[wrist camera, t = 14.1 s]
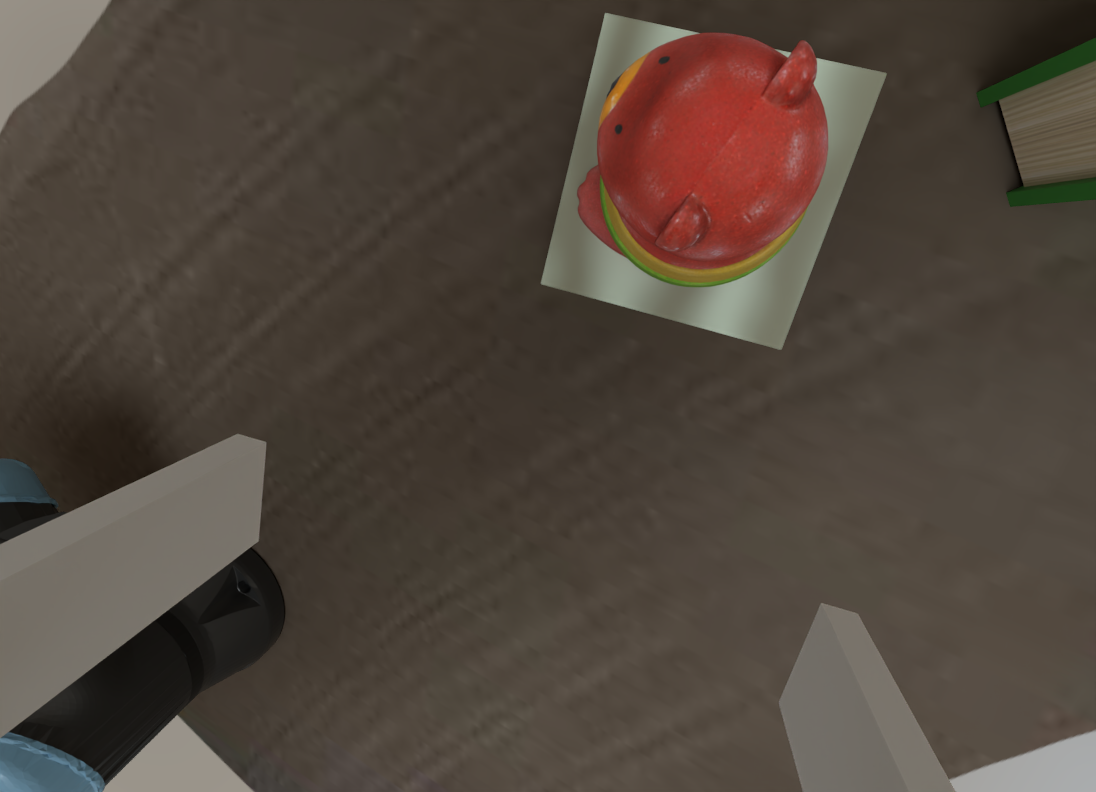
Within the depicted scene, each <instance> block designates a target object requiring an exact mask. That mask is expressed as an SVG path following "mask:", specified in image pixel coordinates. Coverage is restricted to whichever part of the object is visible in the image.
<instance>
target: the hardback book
mask: <svg viewBox="0 0 1096 792" xmlns="http://www.w3.org/2000/svg"><path fill="white" fill-rule="evenodd" d="M977 97H978V100H979V104H980V107H983V106H986V105H988V104H991V103H993V102H996V101H998V100H999V103H1000V106H1001V110H1002V113H1003V116H1004V120H1005V123H1006V127H1007V130H1008V133H1009V137H1010V140H1011V144H1012V147H1013V151H1014V154H1015V157H1016V161H1017V164H1018V168H1019V171H1020V175H1021V178H1022V181H1023V185H1024V186H1022V187H1019V188H1017V189H1014V190H1012V191H1009V192H1007V193H1006V194H1007V197H1008V201H1009V204H1010V207H1012V206H1024V205H1036V204H1047V203H1059V202H1071V201H1082V200H1094V199H1096V38H1094V39H1092V40H1090V41H1087V42H1085V43H1083V44H1081V45H1079V46H1077V47H1074V48H1072V49H1070V50H1068V51H1066V52H1064V53H1061V54H1059V55H1057V56H1055V57H1053V58H1051V59H1048V60H1046V61H1044V62H1042V63H1040V64H1038V65H1036V66H1033V67H1031V68H1029V69H1027V70H1025V71H1023V72H1020V73H1018V74H1016V75H1014V76H1012V77H1010V78H1007V79H1005V80H1003V81H1001V82H999V83H997V84H995V85H992V86H990V87H988V88H986V89H984V90H982V91H979V92H977Z"/></svg>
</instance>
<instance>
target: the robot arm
mask: <svg viewBox="0 0 1096 792" xmlns="http://www.w3.org/2000/svg"><path fill="white" fill-rule="evenodd" d="M265 455H266V442H264V441H261V440H257V439H254V438H250V437H247V436H243V435H240V434H236V435H234V436H232V437H230V438H228V439H225V440H223V441H221V442H219V443H217V444H215V445H213V446H210V447H208V448H206V449H204V450H202V451H200V452H197V453H195V454H193V455H191V456H189V457H187V458H185V459H182V460H180V461H178V462H176V463H174V464H172V465H170V466H167V467H165V468H163V469H161V470H159V471H157V472H154V473H152V474H150V475H148V476H146V477H144V478H142V479H139V480H137V481H135V482H133V483H131V484H129V485H127V486H124V487H122V488H120V489H118V490H116V491H114V492H112V493H109V494H107V495H105V496H103V497H101V498H99V499H96V500H94V501H92V502H90V503H88V504H86V505H84V506H81V507H79V508H77V509H75V510H73V511H71V512H69V513H67V512H60V513H58V511H57V509H56V508H57V507H58V504H57V502H56V500H55V499H53V498H50V497H49V495H48V493H47V492H46V490H45V489H44V487H43V485H42V484H41V482H40V480H39V479H38V477H37V476H36V474H35V472H34V471H33V470H32V469H31V468H30V467H29V466H28V465H26V464H25V463H23V462H20V461H17V460H14V459H0V792H102V791H103V790H104V788H105V786H106V785H107V784H108V783H109V782H110V781H111V780H112V779H113V778H114V777H115V776H116V775H117V774H118V773H119V772H120V771H121V770H122V769H123V768H124V767H125V766H126V765H127V764H128V763H129V762H130V761H131V760H132V759H133V758H134V757H135V756H136V755H137V754H138V753H139V752H140V751H141V750H142V749H143V748H144V747H145V746H146V745H147V744H148V743H149V742H150V741H151V740H152V739H153V738H154V737H155V736H156V735H157V734H158V733H159V732H160V731H161V730H162V729H163V728H164V727H165V726H166V725H167V724H168V723H169V722H170V721H171V720H172V719H173V718H174V717H175V716H176V715H177V714H178V713H179V712H180V711H181V710H182V709H183V708H184V707H185V706H186V705H187V704H188V703H190V702H191V701H192V700H193V699H194V698H195V697H196V696H197V695H198V694H199V693H200V692H202V691H204V690H206V689H208V688H209V687H211V686H213V685H215V684H217V683H218V682H220V681H222V680H224V679H226V678H227V677H229V676H231V675H233V674H234V673H236V672H238V671H241V670H243V669H245V668H247V667H249V666H251V665H252V664H254V663H255V662H256V661H257V660H259V659H260V658H261V657H262V656H263V655H264V654H265V653H266V651H267V650H268V649H269V648H270V647H271V646H272V645H273V644H274V643H275V642H276V640H277V639H278V637H279V635H280V633H281V630H282V627H283V622H284V604H283V599H282V595H281V591H280V589H279V586H278V584H277V582H276V580H275V578H274V576H273V574H272V573H271V571H270V570H269V568H268V567H267V566H266V564H265V563H264V562H263V561H262V560H261V558H260V557H259V556H258V555H257V554H256V553H255V552H253V551H252V550H251V549H250V547H252V546H253V545H254V544H256V543H257V542H258V541H259V530H260V518H261V505H262V493H263V480H264V468H265ZM779 706H780V709H781V713H782V717H783V720H784V724H785V728H786V731H787V735H788V739H789V742H790V746H791V750H792V753H793V757H794V761H795V764H796V768H797V772H798V775H799V779H800V783H801V786H802V790H803V792H955V790H954V788H953V786H952V785H951V783H950V781H949V779H948V777H947V776H946V774H945V772H944V770H943V768H942V766H941V765H940V763H939V761H938V759H937V757H936V756H935V754H934V752H933V750H932V748H931V746H930V745H929V743H928V741H927V739H926V737H925V735H924V734H923V732H922V730H921V728H920V726H919V725H918V723H917V721H916V719H915V717H914V715H913V714H912V712H911V710H910V708H909V706H908V705H907V703H906V701H905V699H904V697H903V695H902V694H901V692H900V690H899V688H898V686H897V685H896V683H895V681H894V679H893V677H892V675H891V674H890V672H889V670H888V668H887V666H886V664H885V663H884V661H883V659H882V657H881V655H880V654H879V652H878V650H877V648H876V646H875V644H874V643H873V641H872V639H871V637H870V635H869V634H868V632H867V630H866V628H865V626H864V624H863V623H862V621H861V619H860V617H859V615H858V614H857V613H854V612H851V611H847V610H844V609H840V608H837V607H833V606H830V605H827V604H823V603H821V605H820V607H819V609H818V612H817V614H816V616H815V619H814V621H813V623H812V626H811V628H810V630H809V633H808V635H807V637H806V640H805V642H804V644H803V647H802V649H801V651H800V654H799V656H798V658H797V661H796V663H795V665H794V668H793V670H792V672H791V675H790V677H789V680H788V682H787V684H786V687H785V689H784V691H783V694H782V696H781V698H780V701H779Z"/></svg>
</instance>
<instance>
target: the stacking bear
mask: <svg viewBox="0 0 1096 792" xmlns="http://www.w3.org/2000/svg"><path fill="white" fill-rule="evenodd" d="M816 74H817V59H816V57H815V54H814V52H813V49H812V47H811V46H810V45H809V44H808V43H807V42H806V41H803V40H801V41H800V42H798V44H797V46H796V47H795V49H794V50H793V51H792V53H791V54H790V55H789V57H786V56H785V55H783V54H781V53H780V52H778V51H777V50H775V49H773V48H772V47H770V46H768V45H766V44H764V43H762V42H760V41H758V40H755V39H752V38H750V37H745V36H740V35H735V34H728V33H700V34H694V35H689V36H685V37H682V38H679V39H676V40H673V41H670V42H667V43H665V44H663V45H661V46H658V47H657V48H655V49H653V50H651V51H650V52H648V53H647V54H645V55H644V56H642V57H641V58H639V59H638V60H636V61H635V62H634V63H633V64H632V65H630V66H629V67H628V68H627V69H626V70H625V71H624V72H623V73H622V74H621V75H620V76H619V77H618V78H617V79H616V80H615V81H614V82H613V83H612V85H611V88H610V91H609V92H608V94H607V98H606V101H605V103H604V105H603V108H602V111H601V115H600V119H599V128H598V137H597V158H598V165H597V166H595V167H593V168H592V169H590V170H589V172H588V173H587V175H586V180H585V181H584V182H583V183H582V184H581V185H580V186H579V187H578V190H577V197H578V199H579V206H578V214H579V216H580V218H581V220H582V221H583V223H584V224H585V225H586V227H587V228H588V229H589V230H590V231H591V232H592V233H593V234H594V235H595V236H596V237H597V238H598V239H600V240H601V241H602V242H603V243H604V244H606V245H607V246H608V247H609V248H611V249H612V250H614V251H615V252H617V253H619V254H620V255H622V256H624V257H626V258H628V259H629V260H630V261H631V262H632V263H633V264H634V265H635V266H636V267H638V268H639V269H640V270H642V271H643V272H645V273H646V274H648V275H650V276H652V277H653V278H656V279H658V280H660V281H662V282H666V283H669V284H672V285H677V286H683V287H712V286H717V285H722V284H725V283H729V282H732V281H735V280H738V279H740V278H742V277H745V276H747V275H748V274H750V273H752V272H754V271H755V270H757V269H759V268H760V267H762V266H763V265H764V264H766V263H767V262H768V261H770V260H771V259H772V258H773V257H774V256H775V255H776V254H777V253H778V252H780V250H781V249H782V248H783V247H784V246H785V245H786V244H787V243H788V241H789V240H790V239H791V237H792V236H793V235H794V233H795V232H796V230H797V228H798V227H799V225H800V223H801V221H802V219H803V217H804V215H805V213H806V211H807V208H808V206H809V204H810V202H811V200H812V199H813V197H814V195H815V193H816V191H817V189H818V187H819V185H820V182H821V179H822V176H823V173H824V170H825V166H826V162H827V154H828V126H827V119H826V114H825V110H824V106H823V104H822V101H821V98H820V96H819V94H818V92H817V90H816V88H815V86H814V84H813V83H814V81H815V79H816Z"/></svg>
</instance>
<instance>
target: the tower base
mask: <svg viewBox="0 0 1096 792" xmlns="http://www.w3.org/2000/svg"><path fill="white" fill-rule="evenodd" d="M694 34H700V33H697V32H692V31H687V30H683V29H678V28H673V27H669V26H664V25H659V24H655V23H650V22H645V21H641V20H636V19H631V18H627V17H622V16H617V15H613V14H608V13H605V16H604V20H603V25H602V29H601V33H600V37H599V41H598V46H597V50H596V54H595V58H594V62H593V67H592V71H591V75H590V79H589V83H588V88H587V92H586V96H585V100H584V104H583V109H582V113H581V117H580V121H579V125H578V130H577V134H576V138H575V142H574V146H573V151H572V155H571V159H570V163H569V167H568V172H567V176H566V180H565V184H564V188H563V193H562V197H561V201H560V205H559V209H558V214H557V218H556V222H555V226H554V230H553V235H552V239H551V243H550V247H549V251H548V256H547V260H546V264H545V268H544V272H543V277H542V281H541V284H543V285H546V286H550V287H554V288H557V289H561V290H565V291H568V292H572V293H576V294H579V295H583V296H586V297H590V298H594V299H597V300H601V301H605V302H608V303H612V304H616V305H619V306H623V307H626V308H630V309H634V310H637V311H641V312H645V313H648V314H652V315H656V316H659V317H663V318H666V319H670V320H674V321H677V322H681V323H685V324H688V325H692V326H696V327H699V328H703V329H706V330H710V331H714V332H717V333H721V334H725V335H728V336H732V337H736V338H739V339H743V340H746V341H750V342H754V343H757V344H761V345H765V346H768V347H772V348H776V349H779V350H781V349H782V347H783V344H784V342H785V339H786V336H787V334H788V331H789V328H790V326H791V323H792V321H793V318H794V315H795V313H796V310H797V308H798V305H799V302H800V300H801V297H802V294H803V292H804V289H805V287H806V284H807V281H808V279H809V276H810V273H811V271H812V268H813V266H814V263H815V260H816V258H817V255H818V253H819V250H820V247H821V245H822V242H823V239H824V237H825V234H826V232H827V229H828V226H829V224H830V221H831V219H832V216H833V213H834V211H835V208H836V205H837V203H838V200H839V198H840V195H841V192H842V190H843V187H844V185H845V182H846V179H847V177H848V174H849V171H850V169H851V166H852V164H853V161H854V158H855V156H856V153H857V151H858V148H859V145H860V143H861V140H862V137H863V135H864V132H865V130H866V127H867V124H868V122H869V119H870V117H871V114H872V111H873V109H874V106H875V103H876V101H877V98H878V96H879V93H880V90H881V88H882V85H883V83H884V80H885V77H886V75H887V73H883V72H879V71H874V70H869V69H865V68H860V67H855V66H851V65H846V64H841V63H837V62H832V61H827V60H823V59H818V58H816V59H817V74H816V79H815V81H814V83H813V84H814V86H815V88H816V90H817V92H818V94H819V96H820V98H821V101H822V104H823V106H824V110H825V114H826V119H827V126H828V154H827V162H826V166H825V170H824V173H823V176H822V179H821V182H820V185H819V187H818V189H817V191H816V193H815V195H814V197H813V199H812V200H811V202H810V204H809V206H808V208H807V211H806V213H805V215H804V217H803V219H802V221H801V223H800V225H799V227H798V228H797V230H796V232H795V233H794V235H793V236H792V237H791V239H790V240H789V241H788V243H787V244H786V245H785V246H784V247H783V248H782V249H781V250H780V252H778V253H777V254H776V255H775V256H774V257H773V258H772V259H771V260H770V261H768V262H767V263H766V264H764V265H763V266H762V267H760V268H759V269H757V270H755V271H754V272H752V273H750V274H748V275H747V276H745V277H742V278H740V279H738V280H735V281H732V282H729V283H725V284H722V285H717V286H712V287H683V286H677V285H672V284H669V283H666V282H662V281H660V280H658V279H656V278H653V277H652V276H650V275H648V274H646V273H645V272H643V271H642V270H640V269H639V268H638V267H636V266H635V265H634V264H633V263H632V262H631V261H630V260H629V259H628V258H626V257H624V256H622V255H620V254H619V253H617V252H615V251H614V250H612V249H611V248H609V247H608V246H607V245H606V244H604V243H603V242H602V241H601V240H600V239H598V238H597V237H596V236H595V235H594V234H593V233H592V232H591V231H590V230H589V229H588V228H587V227H586V225H585V224H584V223H583V221H582V220H581V218H580V216H579V214H578V206H579V199H578V197H577V190H578V187H579V186H580V185H581V184H582V183H583V182H584V181H585V180H586V175H587V173H588V172H589V170H590V169H592V168H593V167H595V166H597V165H598V158H597V137H598V128H599V119H600V115H601V111H602V108H603V105H604V103H605V101H606V98H607V94H608V92H609V91H610V88H611V85H612V83H613V82H614V81H615V80H616V79H617V78H618V77H619V76H620V75H621V74H622V73H623V72H624V71H625V70H626V69H627V68H628V67H629V66H630V65H632V64H633V63H634V62H635V61H636V60H638V59H639V58H641V57H642V56H644V55H645V54H647V53H648V52H650V51H651V50H653V49H655V48H657V47H658V46H661V45H663V44H665V43H667V42H670V41H673V40H676V39H679V38H682V37H685V36H689V35H694ZM775 50H776V49H775ZM777 51H778V52H780V53H781V54H783V55H785V56H786V57H789V55H790V54H791V53H790V52H785V51H781V50H777Z"/></svg>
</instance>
